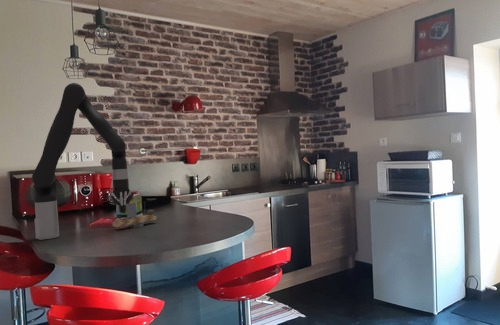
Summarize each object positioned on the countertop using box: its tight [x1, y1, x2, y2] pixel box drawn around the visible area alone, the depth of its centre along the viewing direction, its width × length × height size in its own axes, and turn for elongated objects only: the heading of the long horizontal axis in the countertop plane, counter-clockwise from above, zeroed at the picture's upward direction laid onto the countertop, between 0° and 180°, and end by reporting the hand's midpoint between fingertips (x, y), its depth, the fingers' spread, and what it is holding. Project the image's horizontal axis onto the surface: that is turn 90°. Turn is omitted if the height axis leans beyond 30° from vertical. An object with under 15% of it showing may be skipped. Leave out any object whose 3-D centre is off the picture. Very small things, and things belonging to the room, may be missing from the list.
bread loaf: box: [112, 209, 157, 229], centre depth 200 cm, size 22×7×7 cm, turn 136°
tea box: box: [115, 193, 143, 220], centre depth 218 cm, size 15×10×15 cm
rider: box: [126, 201, 137, 219], centre depth 199 cm, size 3×4×9 cm
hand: (122, 212), depth 196 cm, fingers closed
